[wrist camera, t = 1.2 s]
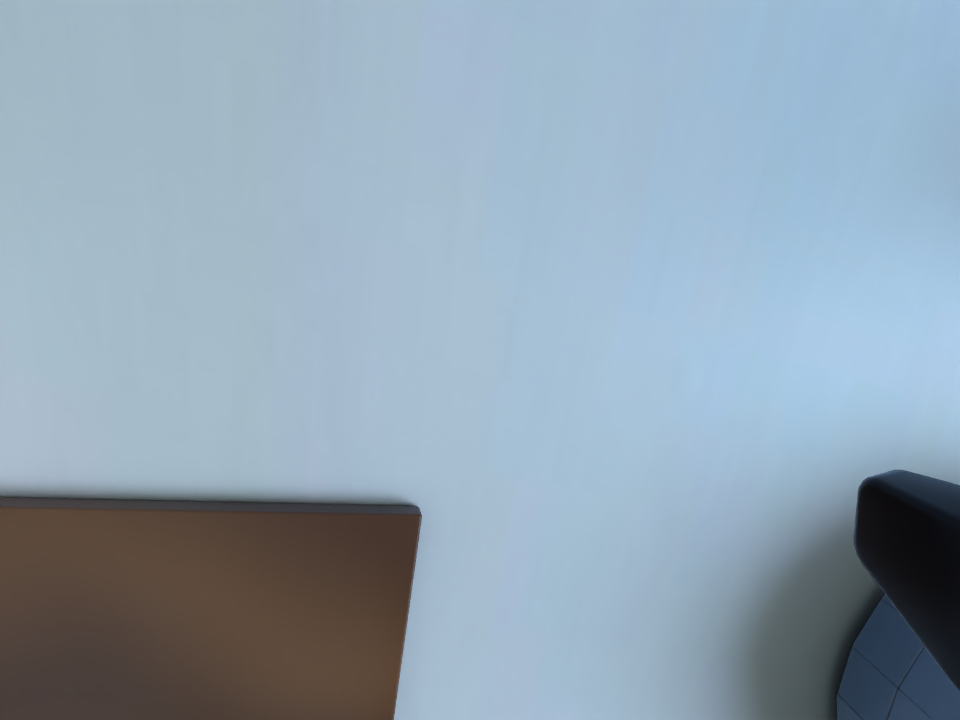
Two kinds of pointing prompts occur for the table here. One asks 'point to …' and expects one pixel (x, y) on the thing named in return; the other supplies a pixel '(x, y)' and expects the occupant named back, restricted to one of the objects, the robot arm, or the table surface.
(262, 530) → the coaster board
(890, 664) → the bowl
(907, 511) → the robot arm
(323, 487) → the table surface
